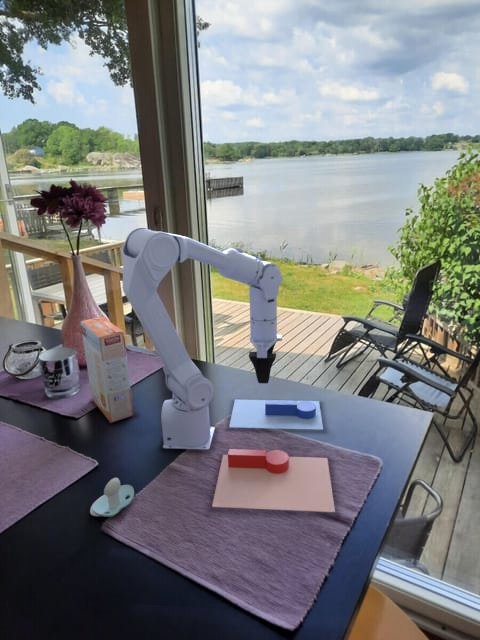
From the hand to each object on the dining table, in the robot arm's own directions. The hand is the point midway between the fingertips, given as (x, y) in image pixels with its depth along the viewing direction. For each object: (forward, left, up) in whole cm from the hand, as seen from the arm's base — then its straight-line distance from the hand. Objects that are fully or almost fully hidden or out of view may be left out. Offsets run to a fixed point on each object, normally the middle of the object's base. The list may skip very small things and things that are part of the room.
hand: (264, 374), depth 98 cm
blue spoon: (+6, -2, -9) cm, 11 cm away
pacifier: (-24, -32, -10) cm, 41 cm away
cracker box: (-36, 0, -10) cm, 38 cm away
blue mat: (+3, -2, -9) cm, 10 cm away
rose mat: (+3, -24, -9) cm, 26 cm away
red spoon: (0, -20, -9) cm, 22 cm away
